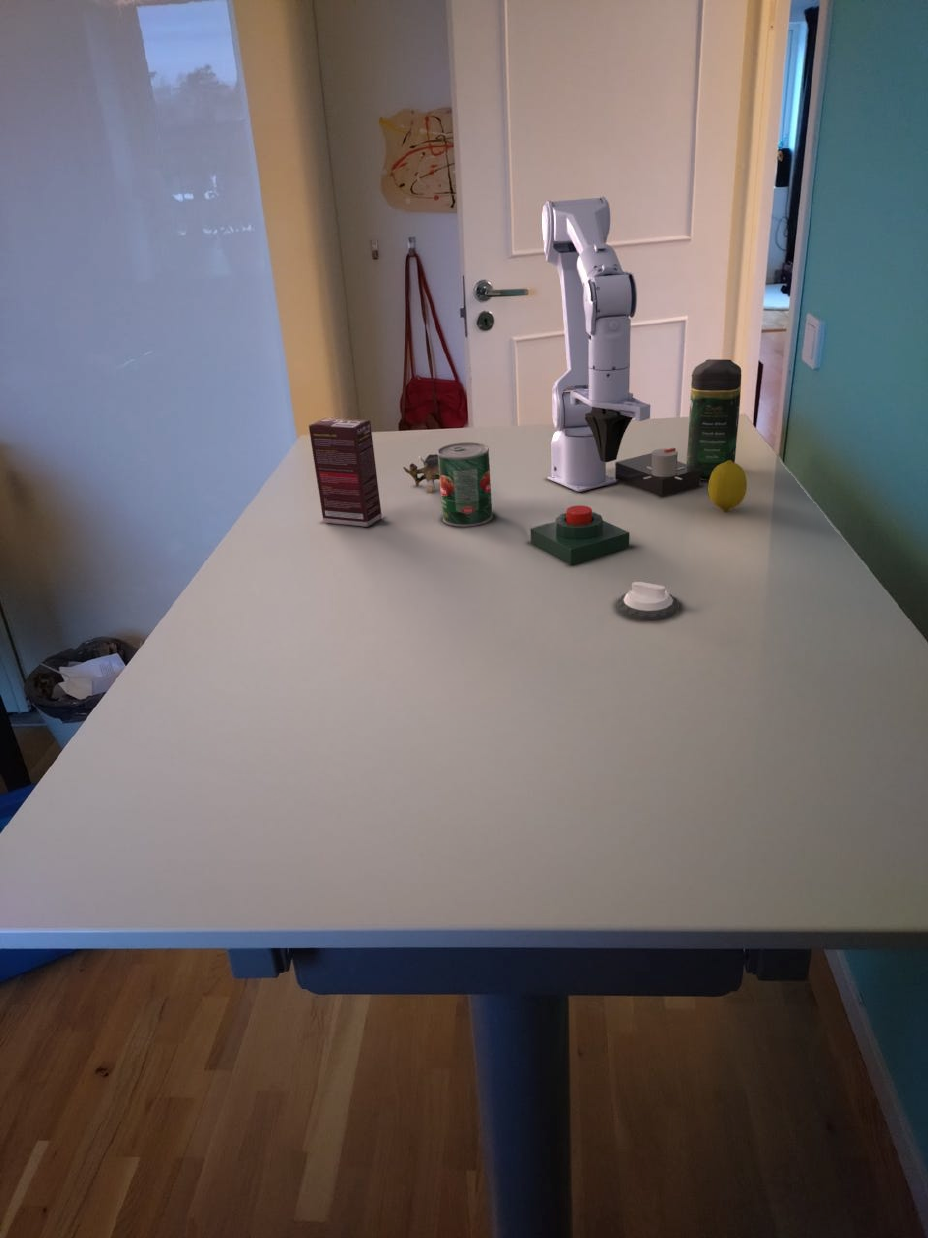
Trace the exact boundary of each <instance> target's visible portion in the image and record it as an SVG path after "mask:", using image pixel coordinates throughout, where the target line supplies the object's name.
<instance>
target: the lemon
mask: <svg viewBox="0 0 928 1238" xmlns="http://www.w3.org/2000/svg"><path fill="white" fill-rule="evenodd" d="M747 488H748V480H747V475H746V472H745V470H744V469H743V468H742V466H741V465H740V464H738V463H733V462H732V461H731V460H727V461H726V462H725V463H722V464H720V465H718V466H717V467H716V468H715V469H714V470H713V472H712V474H711V476H710V479H709V480H708V485H707V490H708V492H707V493H708V496H709V500H710V501H711V503H712V504H713V505H715V506H716V507H717V508H719V509H720V510H722V511H723V512H725V513H726V512H727V513H728V512H729V511H730V510H731V509H734V508H736V507H738V506H739V505H740V504H741V503H742V502H743V501H744V499H745V497H746V493H747V490H748V489H747Z"/></svg>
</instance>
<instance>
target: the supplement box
mask: <svg viewBox="0 0 928 1238" xmlns="http://www.w3.org/2000/svg"><path fill="white" fill-rule="evenodd" d="M308 430H309V431H308V432H309V438H310V443H311V451H312V456H313V457H312V458H313V463H314V469H315V476H316V481H317V488H318V489H317V490H318V495H319V496H318V497H319V502H320V509H321V516H322V521H323V523H326V524H336V525H346V526H356V527H366V528H369V527H370V526H371V525H373V524H375V523H376V522H377V521H379V520H380V519H382V509H381V499H380V493H379V491H380V490H379V484H378V475H377V466H376V458H375V450H374V441H373V432H372V424H371V420H369V419H349V418H332V417H331V418H328V417H324V418H321V419H319V420H317V421H315V422H312V423H311V424H309V425H308Z"/></svg>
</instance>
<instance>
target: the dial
mask: <svg viewBox="0 0 928 1238" xmlns="http://www.w3.org/2000/svg"><path fill="white" fill-rule="evenodd" d="M651 453H652V469H651V473H652V475H654V476H657V477H671V476H674V475H676V474H677V461H678V455H679V452H678V450H676V448H675V447H671V448H658V449H654V450H652V451H651Z"/></svg>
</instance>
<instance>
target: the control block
mask: <svg viewBox="0 0 928 1238" xmlns="http://www.w3.org/2000/svg"><path fill="white" fill-rule="evenodd" d="M530 544H532V545H533V546H535V547H536V548H539V549H541V550H543V551H544V552H546V553H548V554H549V555H552V556H554V557H555V558H557V559H559V560H561V561H563V562H565V563H567V565H570V566H573V565H576V564H579V563H582V562H586V561H589V560H592V559H597V558H599V557H602V556H603V557H604V556H606V555H610V554H613V553H615V552H619V551H622V550H626V549H628V548H630V531H627V530H626V529H623V528H621V527H619V526H616V525H614V524H612V523H610V522H608V521H605V520H603V516H602V515H601V514H599V513H596V512H593V511H592V522H591V523H587V524H581V525H574V524H569V523H567V522H566V512H564V513H561V514H559V515H557V516H556V518H555V521H553V522H550V523H545V524H542V525H538V526H535V527H531V528H530Z"/></svg>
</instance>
